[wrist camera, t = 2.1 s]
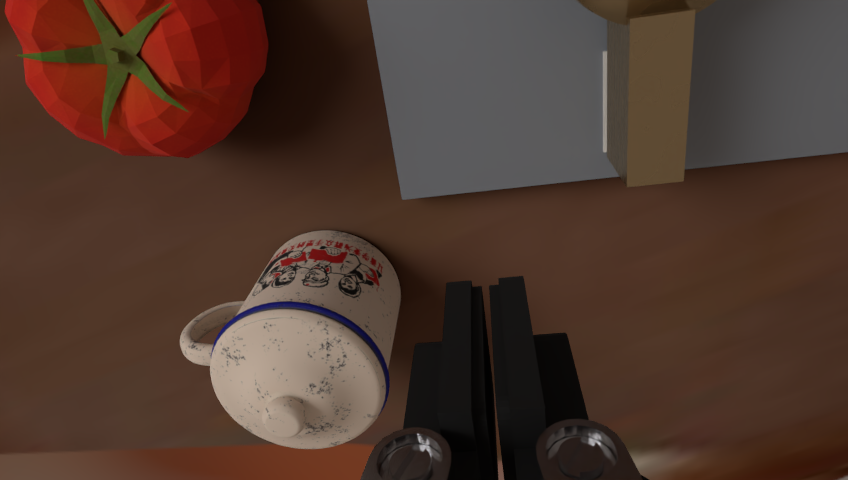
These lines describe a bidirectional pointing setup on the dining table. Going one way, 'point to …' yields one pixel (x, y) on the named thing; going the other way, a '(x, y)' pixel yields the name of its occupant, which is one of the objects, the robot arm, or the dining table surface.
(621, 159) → the lock handle
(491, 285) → the robot arm
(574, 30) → the base
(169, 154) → the tomato
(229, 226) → the dining table surface
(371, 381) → the teacup with lid
